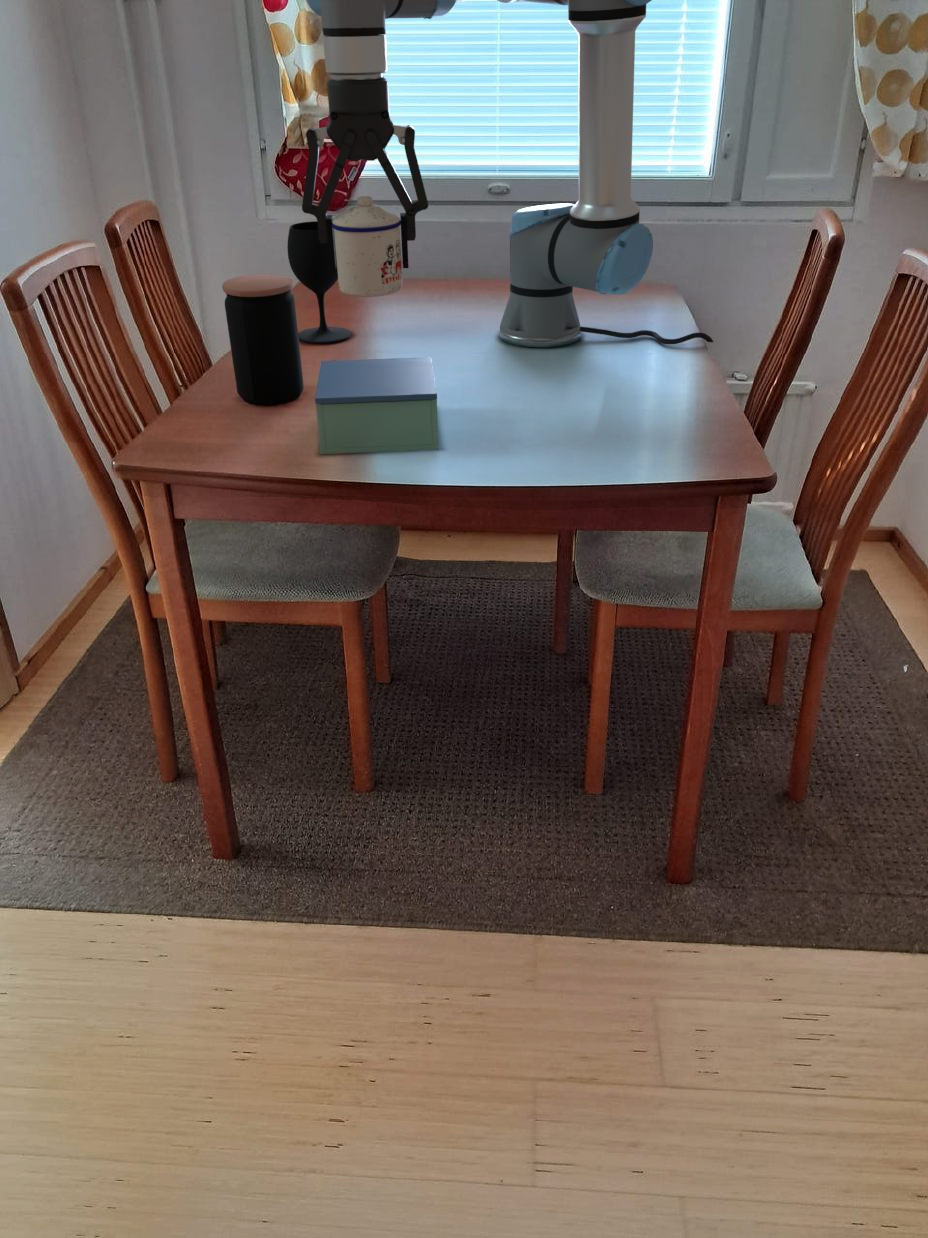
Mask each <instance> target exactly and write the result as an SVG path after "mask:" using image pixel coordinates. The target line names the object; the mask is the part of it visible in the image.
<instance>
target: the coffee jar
mask: <svg viewBox="0 0 928 1238" xmlns="http://www.w3.org/2000/svg"><path fill="white" fill-rule="evenodd" d="M221 287H222V291H223V292H224V294H226V297H225V299H224V311H225V316H226V324H227V331H228V338H229V345H230V352H231V358H232V365H233V373H234V378H235V386H236V393H237V395H238V396H239V397H240V398H241V399H242V401H243V402H244V403H246V404H248V405H250V406H257V407H277V406H282V405H283V406H284V405H286V404H291V403H293V402H295V401H297V400H298V399H299V398H300V397H301V395H302V393H303V392H304V387H305V386H304V376H303V368H302V367H303V366H302V356H301V348H300V341H299V337H298V334H299V329H298V320H297V311H296V300H295V295H294V294H293V293H292V292H291V291H292V289H293V279H292V278H291V277H289V276H286V275H281V274H274V273H273V274H270V273H259V274H246V275H241V276H236V277H232V278H228V279H227V280H225V281H223V282H222V285H221Z"/></svg>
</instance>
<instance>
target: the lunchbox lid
mask: <svg viewBox="0 0 928 1238" xmlns="http://www.w3.org/2000/svg"><path fill="white" fill-rule="evenodd" d="M432 361H433V360H432V357H431V356H425V357H423V356H422V357H399V358H398V357H397V358H371V359H345V360H342V359H341V360H322V361H321V362H320V367H319V373H318V379H317V385H316V391H315V397H314V402H315V403H314V404H315V405H316V404H328V403H353V402H379V401H404V400H430V399H437V400H438V391H437V386H436V380H435V373H434V368H433V362H432Z"/></svg>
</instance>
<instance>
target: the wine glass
mask: <svg viewBox="0 0 928 1238" xmlns="http://www.w3.org/2000/svg"><path fill="white" fill-rule="evenodd" d="M333 230H334V228H333ZM334 242H335V236H334ZM335 254H336V247H335ZM287 258H288V263H289V265H290V269H291V271H292V273H293V275H294V276H295V277H296V279H297V280H298V281H299V282H300V283H301V284H302V285H303V286H304V287H306V288H307V289H308V290H309V291H311V292H313V293H314V294H315V296H316V299H317V304H318V312H319V326H318V327H313V328H308V329H304V330H301V331H300V332H298V337H299V342H301V343H305V344H307V345H308V344H310V345H331V344H337V343H342V342H345V341H347V340H348V339H350V338H351V337H352V332H351V331H350V330H348V329H347V328H343V327H338V326H328V324H327V320H326V313H325V295H326V293H327V292H328V291H329V290H330V289H331V288H332V287H333V286H334V285H335V284H336V283H337V282H338V270H337V259H336V271H330V263H329V251H328V243H320V241H319V234H318V223H317V220H316V221H303V222H297V223H294V224H291V225H290V226H289V228H288V235H287Z"/></svg>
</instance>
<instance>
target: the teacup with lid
mask: <svg viewBox="0 0 928 1238" xmlns="http://www.w3.org/2000/svg"><path fill="white" fill-rule="evenodd" d="M373 200H374V199H373V198H372V196H371V195H370V196H369V195H363V196H358V197H357V199H356V203H357V204H356V205H353V206H351V207H349V208H348V209H347V210H346V211H345V212H343V213H341V214H338V215H336V216H334V218H333V221H332V222H333V223H332V227H333V228H334V236H335V247H336V259H337V270H338V280H337V282H338V289H339V291H340V292H341V293H343V294H344V295H346V296H350V297H357V298H358V297H359V298H374V297H375V298H377V297H383V296H384V297H385V296H389V295H393V294H396V293H398V292H399V291H401V290H402V289H403V285H404V283H403V262H402V243H401V220H400V215H398V214H397V213H395V212H391V211H388V210H386V209H385V208H383V207H382V206H380V205H377V204H373V203H374V201H373Z"/></svg>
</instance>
